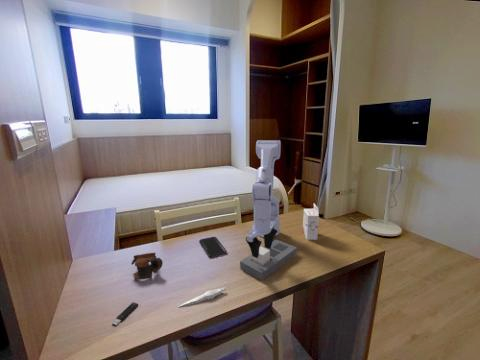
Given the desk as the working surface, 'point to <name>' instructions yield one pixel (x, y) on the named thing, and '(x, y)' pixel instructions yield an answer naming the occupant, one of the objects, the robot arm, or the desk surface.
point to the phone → (212, 247)
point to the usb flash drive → (125, 313)
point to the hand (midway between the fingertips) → (261, 252)
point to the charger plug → (262, 256)
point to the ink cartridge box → (311, 223)
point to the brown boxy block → (146, 265)
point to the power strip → (278, 257)
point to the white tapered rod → (205, 296)
